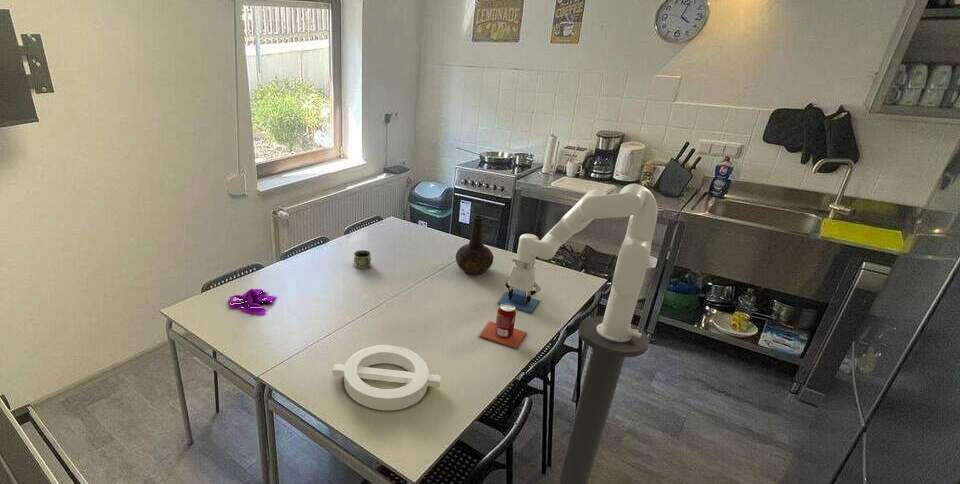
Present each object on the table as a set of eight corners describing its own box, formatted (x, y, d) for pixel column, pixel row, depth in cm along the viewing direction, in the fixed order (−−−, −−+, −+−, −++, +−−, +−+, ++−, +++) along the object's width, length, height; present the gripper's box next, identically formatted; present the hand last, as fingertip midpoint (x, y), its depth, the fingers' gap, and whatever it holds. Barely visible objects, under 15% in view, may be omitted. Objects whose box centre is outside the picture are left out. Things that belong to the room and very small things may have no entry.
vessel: (376, 266, 243) (377, 255, 241) (363, 271, 238) (363, 259, 236) (361, 258, 252) (361, 247, 249) (348, 263, 247) (348, 251, 244)
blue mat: (538, 301, 213) (538, 300, 212) (531, 313, 204) (531, 312, 203) (506, 292, 219) (506, 291, 219) (498, 304, 210) (498, 303, 210)
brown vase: (491, 264, 246) (498, 211, 234) (491, 280, 230) (499, 224, 218) (455, 260, 250) (460, 208, 237) (453, 276, 234) (458, 221, 222)
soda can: (507, 340, 185) (511, 313, 179) (491, 334, 189) (495, 307, 184) (515, 333, 189) (520, 306, 184) (499, 327, 193) (503, 300, 188)
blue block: (525, 300, 212) (526, 291, 210) (522, 305, 208) (523, 295, 206) (514, 297, 214) (516, 288, 212) (511, 302, 211) (513, 293, 209)
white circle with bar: (328, 374, 168) (328, 363, 166) (392, 347, 182) (392, 336, 180) (377, 423, 147) (377, 411, 145) (445, 387, 162) (446, 376, 160)
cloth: (220, 302, 212) (218, 290, 209) (254, 287, 224) (253, 275, 222) (252, 320, 199) (250, 307, 196) (286, 303, 211) (286, 290, 208)
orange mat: (525, 333, 190) (525, 331, 190) (516, 348, 181) (516, 347, 181) (490, 322, 197) (490, 321, 197) (480, 337, 188) (480, 335, 188)
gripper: (501, 261, 204) (496, 299, 212) (544, 271, 196) (537, 310, 204) (507, 255, 210) (501, 291, 218) (548, 264, 202) (541, 302, 210)
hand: (518, 300), depth 211 cm, fingers open, 6 cm apart
